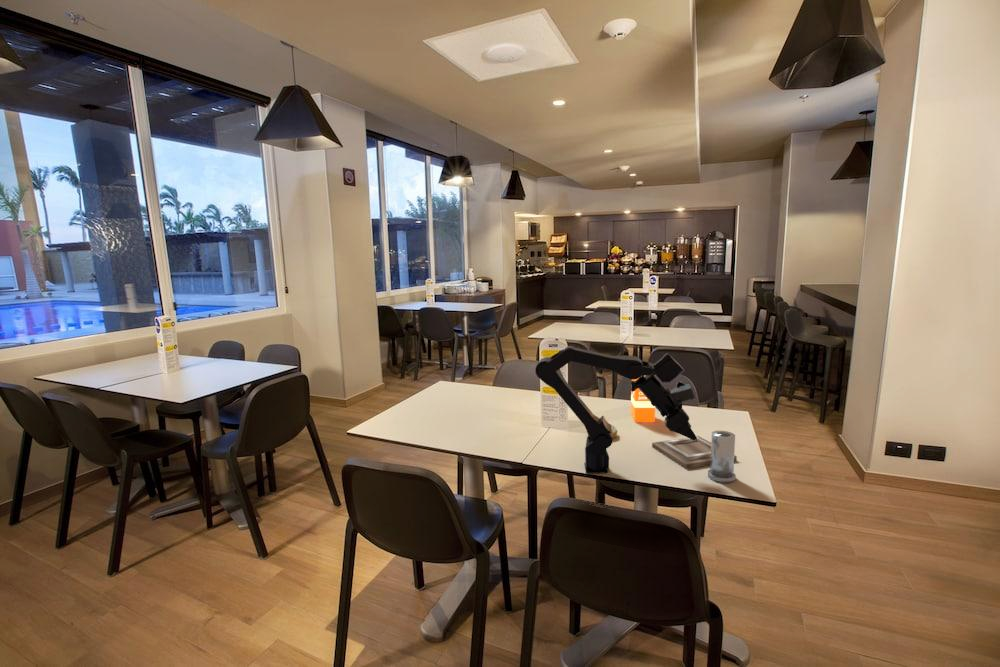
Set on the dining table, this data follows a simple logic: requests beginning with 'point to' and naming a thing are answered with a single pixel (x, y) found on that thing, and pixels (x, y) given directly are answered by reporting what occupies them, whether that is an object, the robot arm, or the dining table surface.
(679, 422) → the robot arm
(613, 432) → the decorated donut
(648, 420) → the orange juice
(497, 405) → the dining table surface
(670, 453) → the bronze base
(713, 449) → the silver metal cup
